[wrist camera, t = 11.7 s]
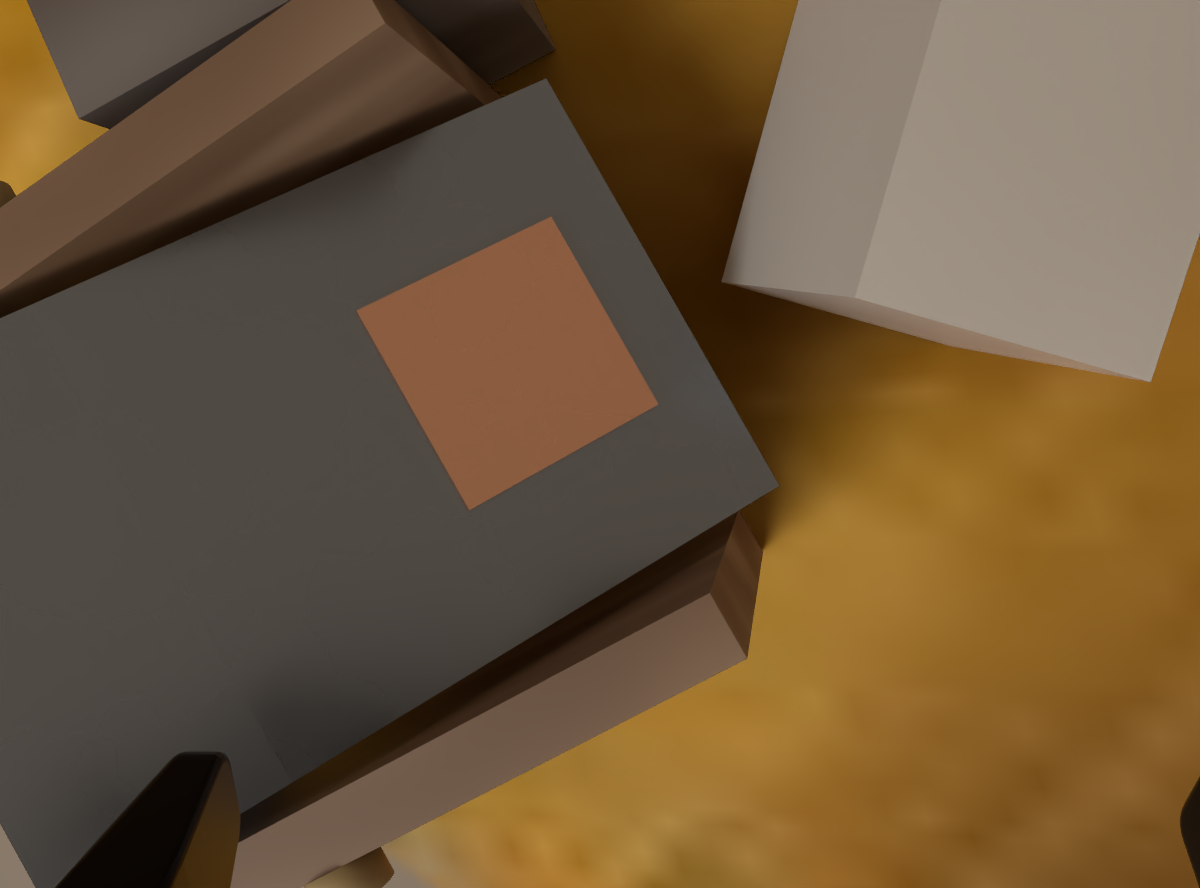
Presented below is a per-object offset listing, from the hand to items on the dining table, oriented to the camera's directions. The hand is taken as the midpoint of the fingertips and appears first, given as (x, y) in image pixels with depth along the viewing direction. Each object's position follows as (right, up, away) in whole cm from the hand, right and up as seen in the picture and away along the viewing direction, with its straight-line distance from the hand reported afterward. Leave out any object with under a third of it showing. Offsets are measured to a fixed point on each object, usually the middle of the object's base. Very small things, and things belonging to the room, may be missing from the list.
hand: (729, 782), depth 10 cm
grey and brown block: (-7, +2, +12) cm, 14 cm away
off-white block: (+4, +5, +8) cm, 10 cm away
